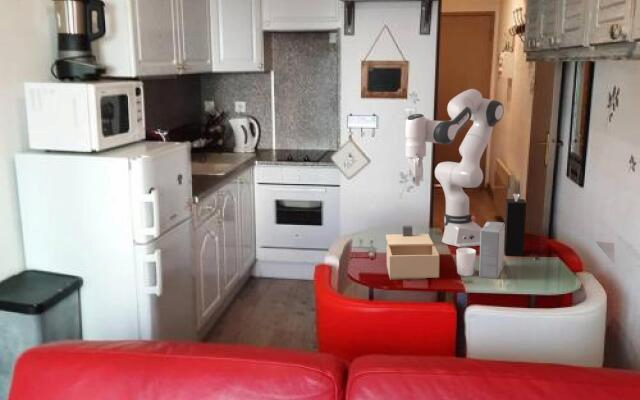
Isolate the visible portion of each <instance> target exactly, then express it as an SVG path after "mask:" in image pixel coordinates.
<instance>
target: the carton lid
mask: <svg viewBox="0 0 640 400" xmlns="http://www.w3.org/2000/svg"><path fill="white" fill-rule="evenodd" d="M385 238H386V242H387V245H388V246H433V244H434V242H433V240H432V239H431V237H430V235H429V233H413V226H412V225H402V233H401V234H399V233H398V234H393V233H392V234H385Z"/></svg>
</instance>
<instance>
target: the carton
mask: <svg viewBox="0 0 640 400" xmlns="http://www.w3.org/2000/svg"><path fill="white" fill-rule="evenodd" d="M386 270H387V273H388V277H389V280H390V281H391V280H427V279H426V278H439V279H440V254H439V251H438V250H437V247H436V246H435V244H434V243H433V246H388V244H386Z"/></svg>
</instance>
